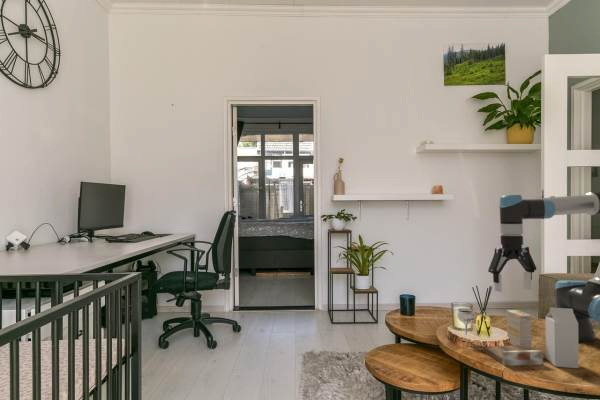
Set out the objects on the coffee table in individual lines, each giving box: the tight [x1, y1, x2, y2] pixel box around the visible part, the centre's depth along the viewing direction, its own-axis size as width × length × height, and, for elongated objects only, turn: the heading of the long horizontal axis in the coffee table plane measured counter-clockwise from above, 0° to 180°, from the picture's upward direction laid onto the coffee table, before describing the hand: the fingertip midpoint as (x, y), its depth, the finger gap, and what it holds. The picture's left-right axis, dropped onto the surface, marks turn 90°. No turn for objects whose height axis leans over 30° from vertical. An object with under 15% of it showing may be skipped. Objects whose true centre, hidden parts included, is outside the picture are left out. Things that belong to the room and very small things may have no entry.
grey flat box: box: [482, 345, 544, 367], centre depth 133 cm, size 14×12×4 cm
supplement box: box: [506, 309, 533, 350], centre depth 145 cm, size 8×5×13 cm, turn 4°
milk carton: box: [545, 307, 579, 369], centre depth 129 cm, size 7×7×19 cm
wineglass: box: [456, 307, 476, 336], centre depth 151 cm, size 7×7×12 cm
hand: (513, 290), depth 144 cm, fingers open, 13 cm apart
